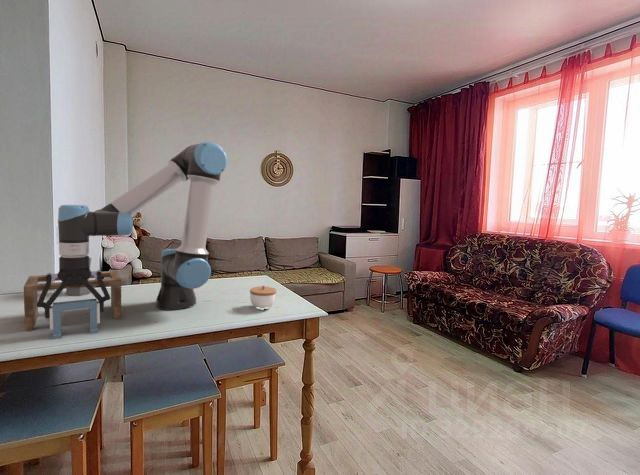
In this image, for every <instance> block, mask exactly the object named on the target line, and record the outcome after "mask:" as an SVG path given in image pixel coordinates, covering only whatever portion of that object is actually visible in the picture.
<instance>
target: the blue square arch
mask: <svg viewBox="0 0 640 475" xmlns="http://www.w3.org/2000/svg"><path fill="white" fill-rule="evenodd" d="M97 301H98V300H97V299H96V298H89V299H88V298H87V299H76V300H67V301H58V302H57V301H56V302H53V303H52V306H53V330H52V340H57V339H62V335H63V334H62V333H63V328H62V312H64V311H65V312H66V311H75V310H82V309H83V310H84V309H89V334H90V335H91V334H97V333H98V331H99V330H98V323H97Z"/></svg>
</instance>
